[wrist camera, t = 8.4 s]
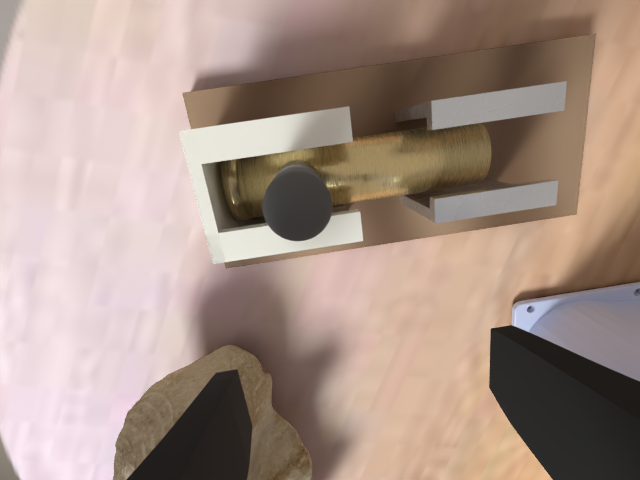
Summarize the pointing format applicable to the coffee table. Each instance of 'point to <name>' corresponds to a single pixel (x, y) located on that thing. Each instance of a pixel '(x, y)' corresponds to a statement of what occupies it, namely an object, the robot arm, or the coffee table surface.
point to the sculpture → (180, 391)
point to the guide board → (443, 112)
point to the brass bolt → (351, 175)
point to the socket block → (254, 140)
